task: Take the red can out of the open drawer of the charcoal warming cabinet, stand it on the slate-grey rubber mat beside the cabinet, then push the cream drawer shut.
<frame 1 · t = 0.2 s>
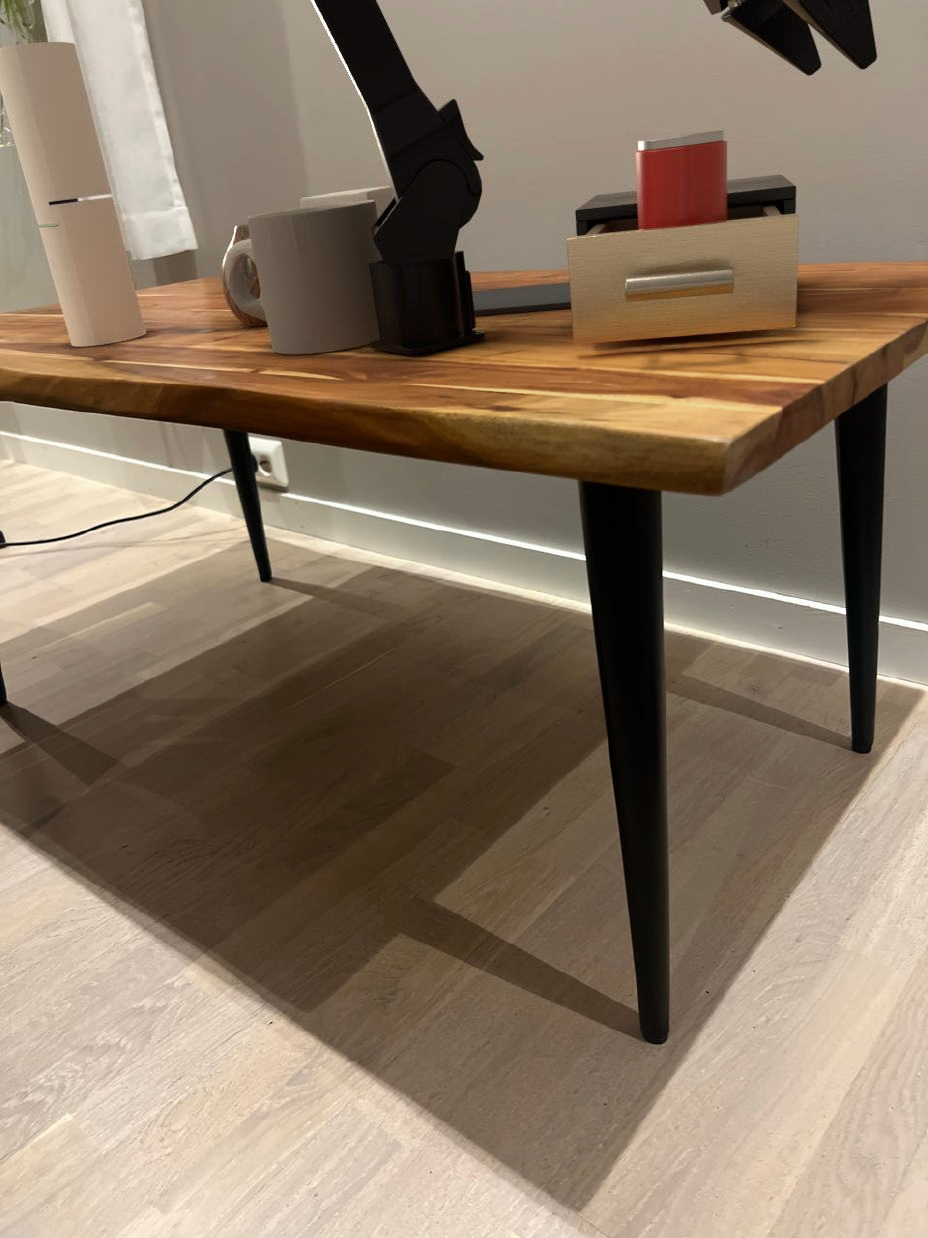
hand: (841, 68, 69), 15 cm above the table, tool tilted 30°, fingers open, 9 cm apart
can: (683, 301, 66), point 2 cm above the table, touching drawer
mat: (516, 301, 88), on the table
cylindrical container: (109, 340, 98), on the table
small box: (370, 312, 94), on the table
cabinet: (687, 303, 77), on the table
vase: (267, 324, 95), on the table
drawer: (682, 272, 64), point 4 cm above the table, slide at 9.0 cm, touching can
coffee mug: (317, 343, 81), on the table
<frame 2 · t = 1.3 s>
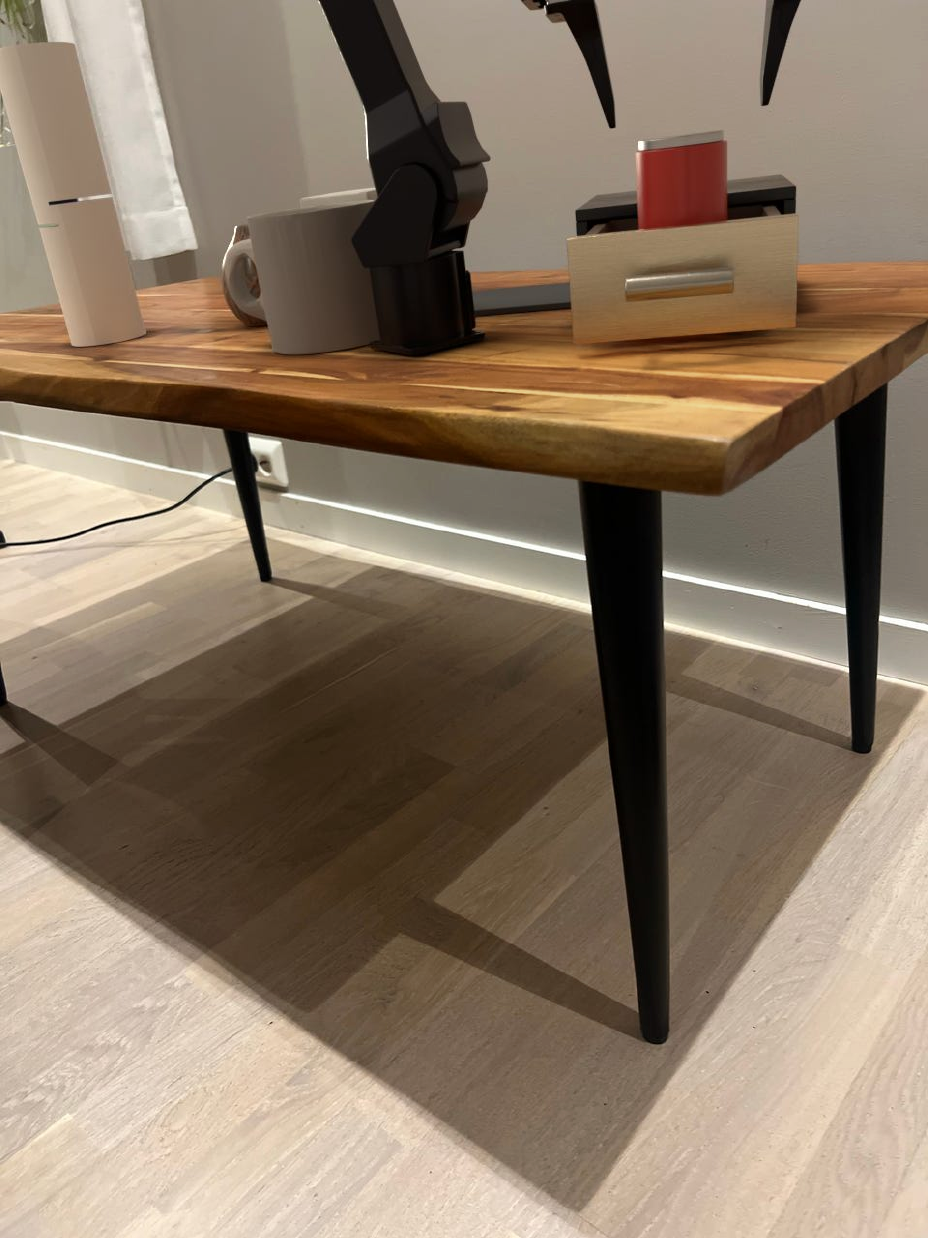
hand: (687, 116, 61), 13 cm above the table, tool pointing down, fingers open, 9 cm apart
nothing on the table moved.
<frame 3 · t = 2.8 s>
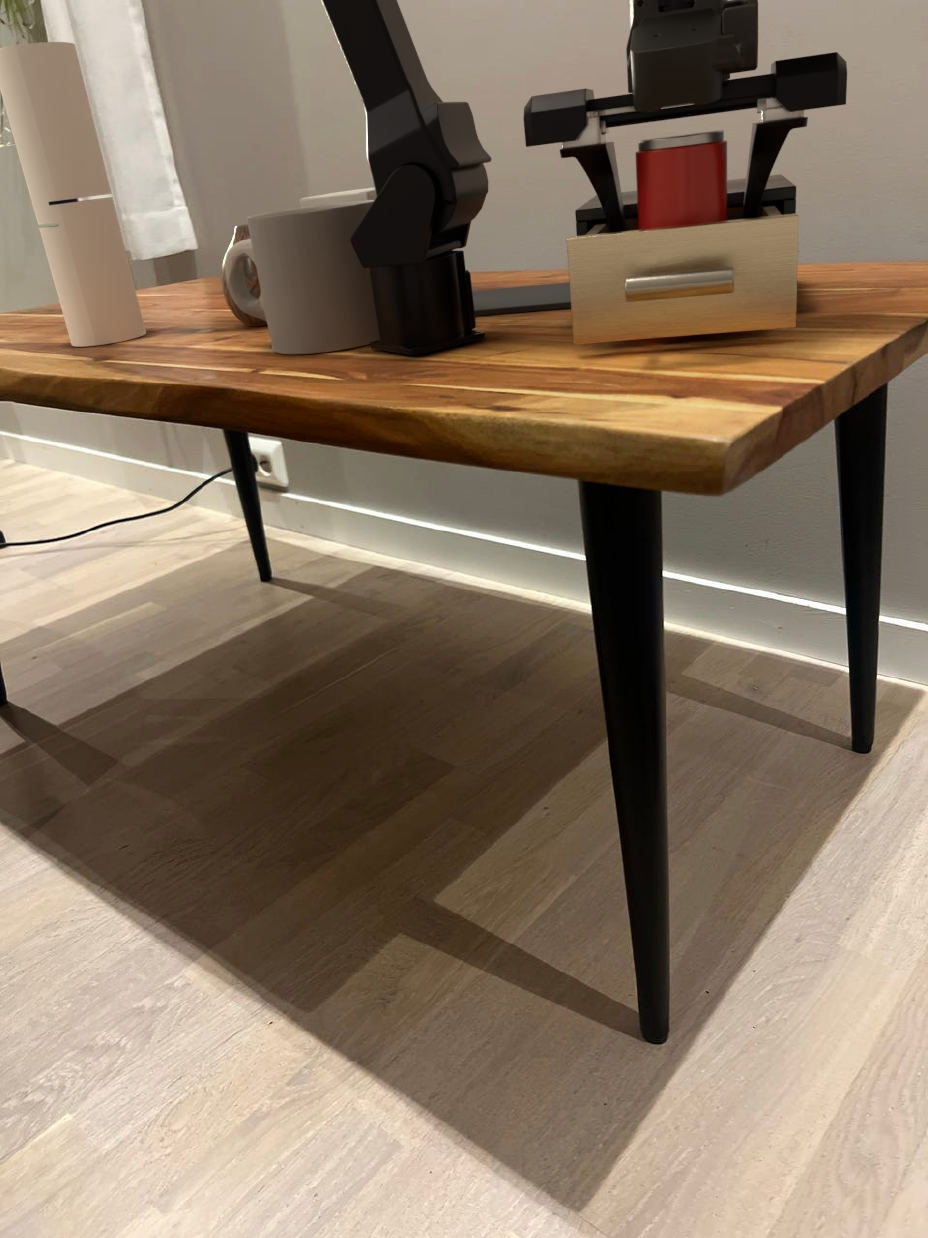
hand: (683, 251, 64), 5 cm above the table, tool pointing down, fingers open, 7 cm apart
nothing on the table moved.
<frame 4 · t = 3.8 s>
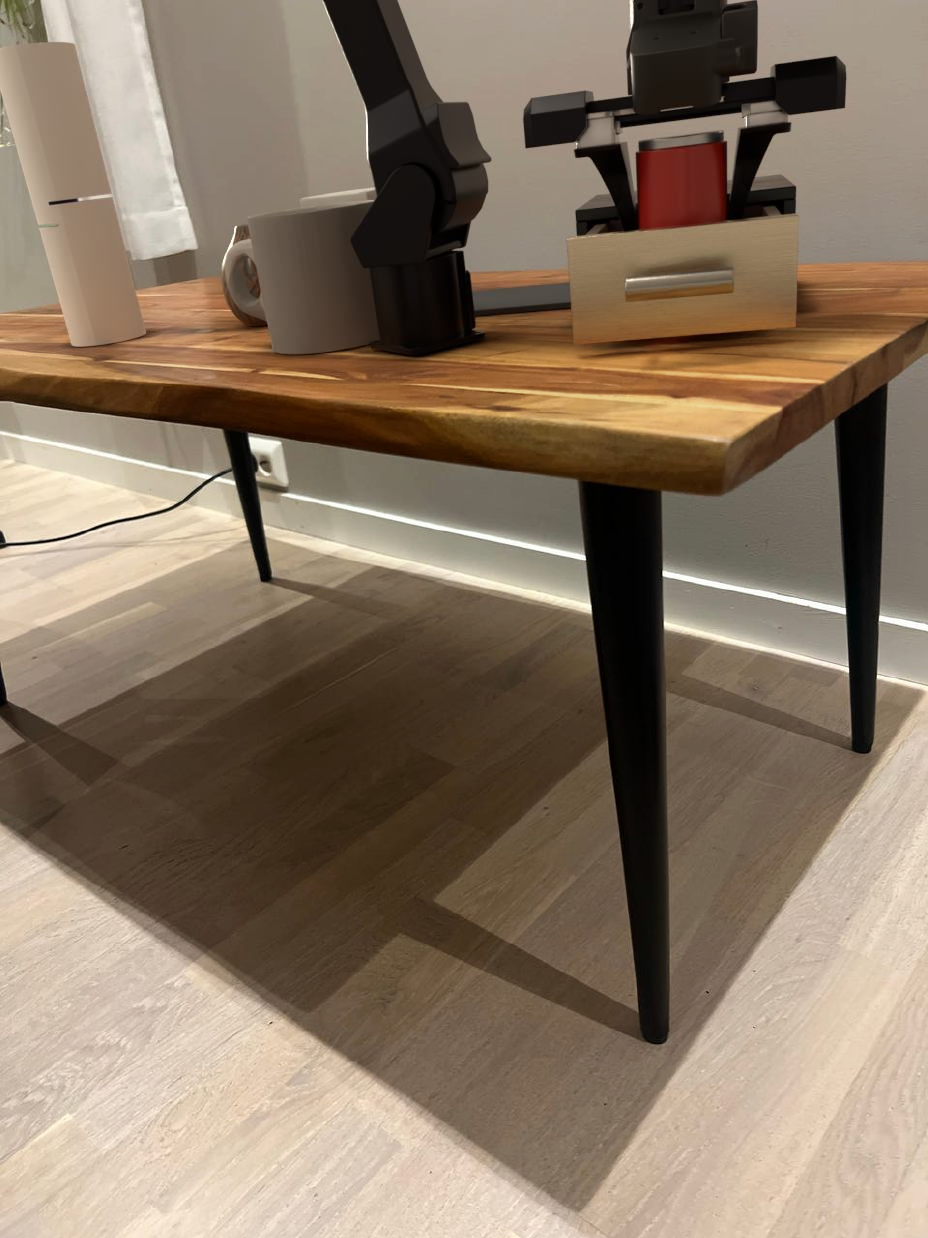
hand: (682, 253, 65), 5 cm above the table, tool pointing down, fingers closed on can, 5 cm apart
can: (684, 301, 66), point 2 cm above the table, touching drawer, gripper
everything else where it was.
when the fingers open (3 cm above the table, at t = 11.1 s): can stays where it is, resting on mat.
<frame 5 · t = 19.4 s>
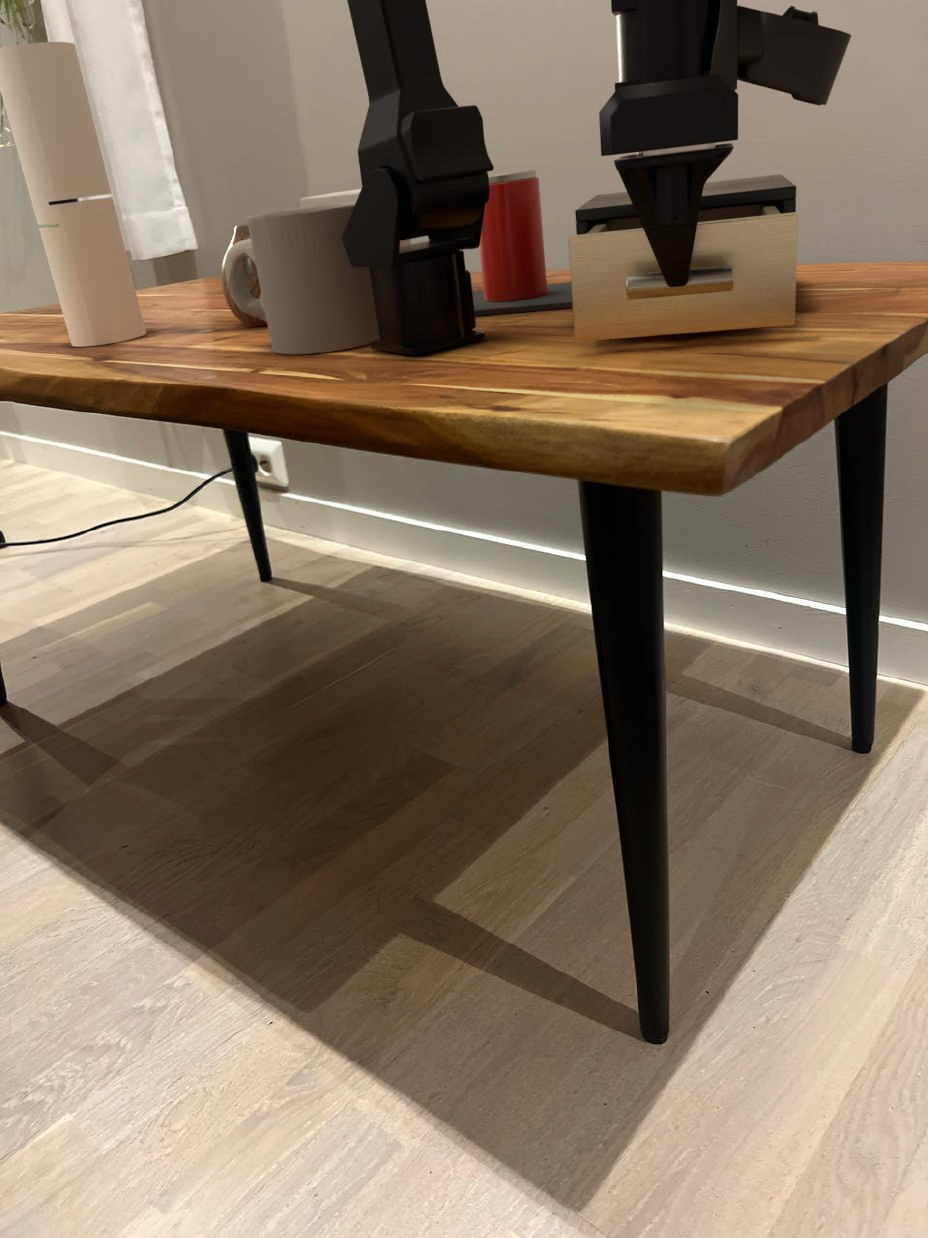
hand: (677, 285, 56), 4 cm above the table, tool pointing down, fingers closed
can: (515, 296, 88), resting on mat
drawer: (682, 270, 64), point 4 cm above the table, slide at 8.2 cm, touching gripper
everything else where it was.
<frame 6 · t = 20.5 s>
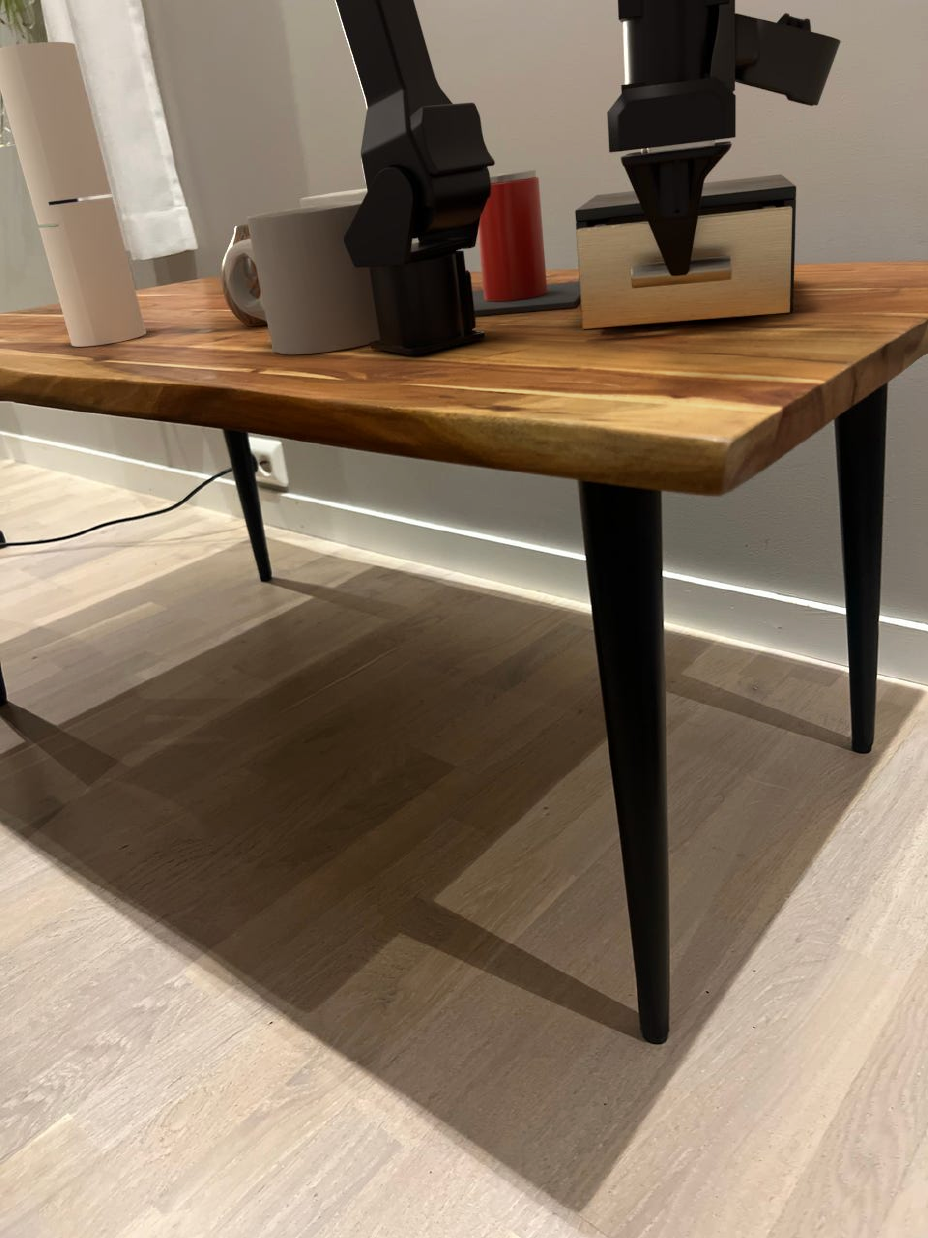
hand: (679, 274, 60), 4 cm above the table, tool pointing down, fingers closed
drawer: (683, 261, 68), point 4 cm above the table, slide at 3.8 cm, touching gripper
everything else where it was.
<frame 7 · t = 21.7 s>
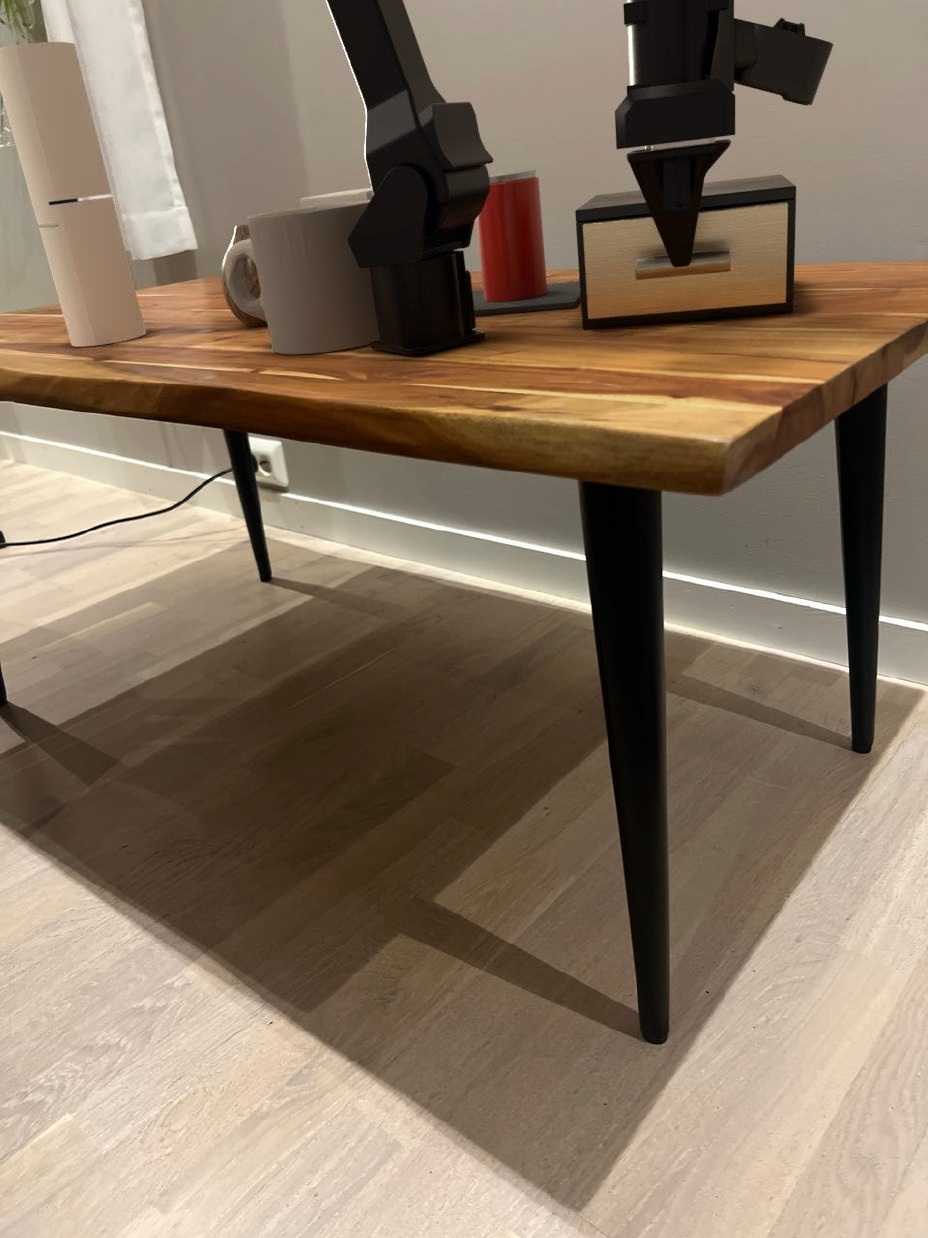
hand: (681, 265, 63), 4 cm above the table, tool pointing down, fingers closed
drawer: (685, 255, 71), point 4 cm above the table, slide at 0.2 cm, touching gripper
everything else where it was.
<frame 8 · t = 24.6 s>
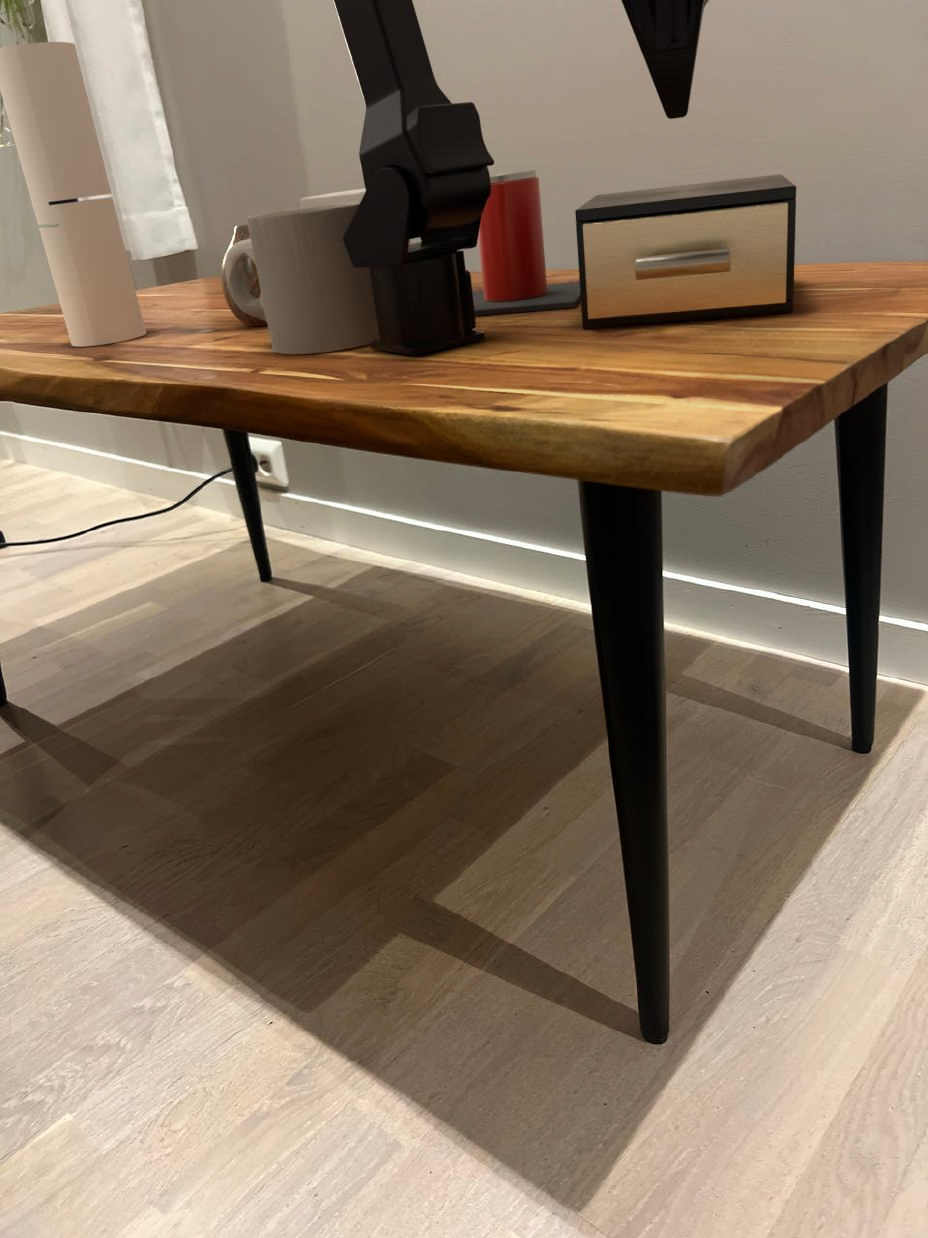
hand: (677, 117, 55), 13 cm above the table, tool pointing down, fingers closed
drawer: (685, 255, 71), point 4 cm above the table, slide at 0.1 cm
everything else where it was.
at the end: can inside the target area on the mat (0.1 cm from its centre), point 0.5 cm above the mat's base; can tilted 0°; drawer slide at 0.1 cm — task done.
